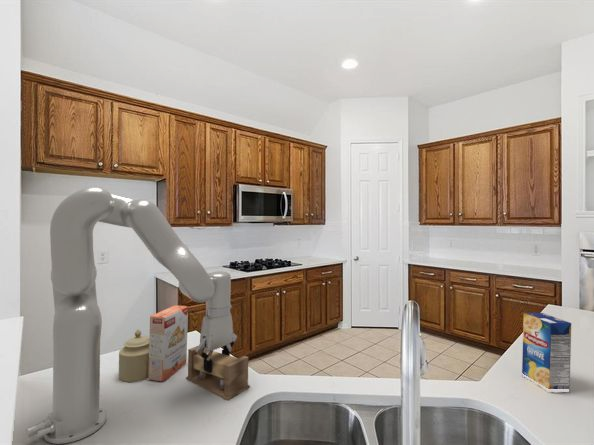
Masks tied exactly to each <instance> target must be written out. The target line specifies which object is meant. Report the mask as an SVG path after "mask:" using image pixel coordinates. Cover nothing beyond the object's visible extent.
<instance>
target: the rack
mask: <svg viewBox="0 0 594 445" xmlns="http://www.w3.org/2000/svg"><path fill="white" fill-rule="evenodd" d="M198 346H199V345H197V346H194V347H191V348H187V350H188V351H187V352H188V353H187V355H188V357H187V376H186V377H185V379H186V380H187V381H189V382H191V383H192V384H195V385H196V386H199V387H200V388H202V389H204V390H206V391H208V392H210V393H212V394H213V395H216V396H218V397H220V398H222V399H223V400H225V401H230V400H231V399H232V398H235V397H237V396H238V395H239V394H241V393H243V392H244V391H247V390H248V389H250V385H249V356H246V355H243V356H241V357H239V358H238V357H237V358H238V359H236V360H234V361H232V362H230V363H228V364H226V365H225V372H224V378H221V377H218V376H215V375H212V374H209V373H206V372H203V371H200V370H197V369H194V368H193V367H194V356H195V355H197V354H198V353H197V352H196V351H195V350H196V348H197V347H198ZM204 349H205V348H203V351H204Z"/></svg>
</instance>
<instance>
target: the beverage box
mask: <svg viewBox="0 0 594 445" xmlns="http://www.w3.org/2000/svg"><path fill="white" fill-rule="evenodd" d="M522 320H523V321H522V322H523V323H522V324H523V325H522V326H523V328H522V330H523V331H522V356H521V358H522V362H521V364H522V365H521V366H522V370H521V374H522V373H523V374H524V375H526V376H528V377H529V378H531V379H533V380H534V381H536V382H538V383H539V384H541V385H543V386H545V387H546V388H548V389H570V387H571V384H570V383H571V356H572V355H571V353H572V352H571V351H572V350H571V349H572V323H571V322H569V321H566V320H564V319H560V318H558V317H555V316H552V315H549V314H547V313H543V312H523V319H522ZM570 390H571V389H570Z"/></svg>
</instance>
